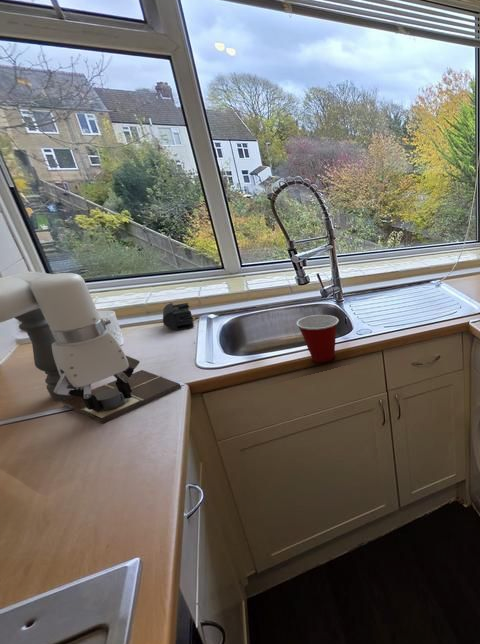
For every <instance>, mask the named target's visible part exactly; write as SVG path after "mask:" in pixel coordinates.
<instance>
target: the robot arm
mask: <svg viewBox="0 0 480 644" xmlns="http://www.w3.org/2000/svg"><path fill="white" fill-rule="evenodd" d="M38 308H40V309H41V311H42V313H43V315H44V317H45V319H46V322H47V324H48V326H49V328H50V330H51V332H52V334H53V336H54V338H55V340H56V342H54V343H52V352H53V356H54V360H55V363H56V366H57V369H58V372H59V374H60V379H59V381H58V383H57V385H56V387H55V389H54V393H57V394H61V395H72V396H77V397H82V399H83V401H84V403H85V405H86V407H87V408H88V409H89V410H91V409H92V410H94V411H96V412H100V411H101V410H102V409H101V407H100V405H99V403H98V401H97V398H96V397H95V396H94V395H92V394H91V390H92V384H94V383H98V382H99V381H103V380H104V379H108V378H110V377H114V378H115V380H117V381H116V386H117V388H121V389H122V390H123V392H124V394H125V397H126V398H127V399H128V398H132V396H131V394H130V393H131V392H132V390H131V388H130V385H129V383H128V382H129V381H130V379H129V378H130V376H131V375H132V374H133V373H134V372H135V371H134V370H135V369H136V368H137V367H138V365H140V363H141V362H140V360H138V359H135V358H134V357H131V356H128V355H126V354H125V352H124V350H123V349H122V347H121V346H120V345H119V343H118V342H117V340H116V339H115V337H114V336H113V335H112V333H111V332H110V331H109V330H107V329H106V325H108V324H111V321H110V320H109V319H108V318H106V319H100V316H99V314H98V312H97V311H98V310H97V307H96V304H95V302H94V300H93V297H92V294H91V293H90V290H89V288H88V286H87V283H86V281H85V279H84V278H83V277H82V276H81V275H80V274H78V273H75V272H59V273H47V272H42V271H41V272H40V271H31V270H30V271H29V270H28V271H19V272H16V273H12V274H9V275H6V276H2V277H0V323H4V322H7V321H9V320H12V319H15V317H17V316H20V315H22V314H25V313H27V312H30V311H33V310H36V309H38ZM69 383H71V384H72V385H73V386H74V387H77V389H69V388H67V386H68V384H69Z"/></svg>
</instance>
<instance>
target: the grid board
mask: <svg viewBox="0 0 480 644" xmlns="http://www.w3.org/2000/svg"><path fill="white" fill-rule="evenodd" d="M129 379H130V381H129V382H128V383H129V385H130V388H131V390H132V392H131V393H130V394H131V396H132V398H128V399H127V398H126V399H127V402H126V403H125V404H124V405H123V406H121V407H119V408H117V409H114V410H110V411H100V412H96V411H94V410H92V409H91V410H89V409H88V408H87V407H86V405H85V403H84V401H83V399H82V397H77V396H75V397H72V398H70V399H67V400H62V401H61V402H62V404H63V407H66V408H68V409H70V410H73V411H74V412H76V413H78V414H80V415H83V416H85V417H87V418H89V419H91V420H93V421H95V422H98V423H100V424H102V425H103V424H106V423H108V422H111V421H112V420H114V419H117V418H119V417H120V416H124V415H125V414H128V413H130V412H132V411H134V410H136V409H138V408H141V407H143V406H144V405H147V404H149V403H151V402H153V401H156V400H158V399H160V398H162V397H164V396H167V395H169V394H171V393H173V392H175V391H177V390H180V389H181V388H182V385H181V383H179V382H176V381H174V380H172V379H168V378H166V377H163V376H161V375H157V374H154V373H152V372H149V371H146V370H143V369H142V370H138V371H134V372H133V373H132V375H131V376H130V378H129ZM116 381H117V379H115V380H112V381H111V382H110V381H109V382H108V383H104V384H103V385H101V386H97V387H96V388H93V389H91V394H92V395H94V396H95V395H96V394H98V393H99V392H102V391H104V390H108V389H112V388H117V386H116Z"/></svg>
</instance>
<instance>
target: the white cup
mask: <svg viewBox="0 0 480 644" xmlns="http://www.w3.org/2000/svg"><path fill="white" fill-rule="evenodd" d="M97 312H98V314H99V316H100V319H106V318H108V319H109V320H110V321H111V324H108V325H106V329H107V330H109V331H110V332H111V333H112V335H113V336H114V337H115V339H116V340H117V342H118V343H119V345H120V347H121V346H122V345H123V344H124V343H125V340H124V338H123V335H122V334H123V333H122V330H121V326H120V324H119V321H118V317H117V314H116V312H115V310H108V309H107V310H105V309H104V310H97Z"/></svg>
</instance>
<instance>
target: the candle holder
mask: <svg viewBox="0 0 480 644" xmlns="http://www.w3.org/2000/svg"><path fill="white" fill-rule="evenodd" d="M14 319H16V320H18V322H20V324H19V325H18V329H20V330H21V331H24V332H26V334H27V336H28V338H29V340H30V342H31V345H32V354H33V362H34V366H35V368H37V369H38V370H39V371H42V372H44V374H45V375H46V378H45V380H44V382H45V384H46V389H47V391H48V393H49V395H50V397H51V400H52V401H56V402H62V401H65V400H67V399H70V398H72V397H75V396H72V395H61V394H57V393H54V389H55V387H56V385H57V383H58V381H59V379H60V374H59V372H58V369H57V366H56V363H55V360H54V356H53V352H52V343H54V342H56V340H55V338H54V336H53V334H52V332H51V330H50V328H49V326H48V324H47V322H46V319H45V317H44V315H43V313H42V311H41V309H40V308H38V309H36V310H33V311H30V312H27V313H25V314H22V315H20V316H17V317H15V318H14ZM67 388H69V389H77V387H74V386H73V385H72V384H71V383H69V384H68V386H67Z"/></svg>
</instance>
